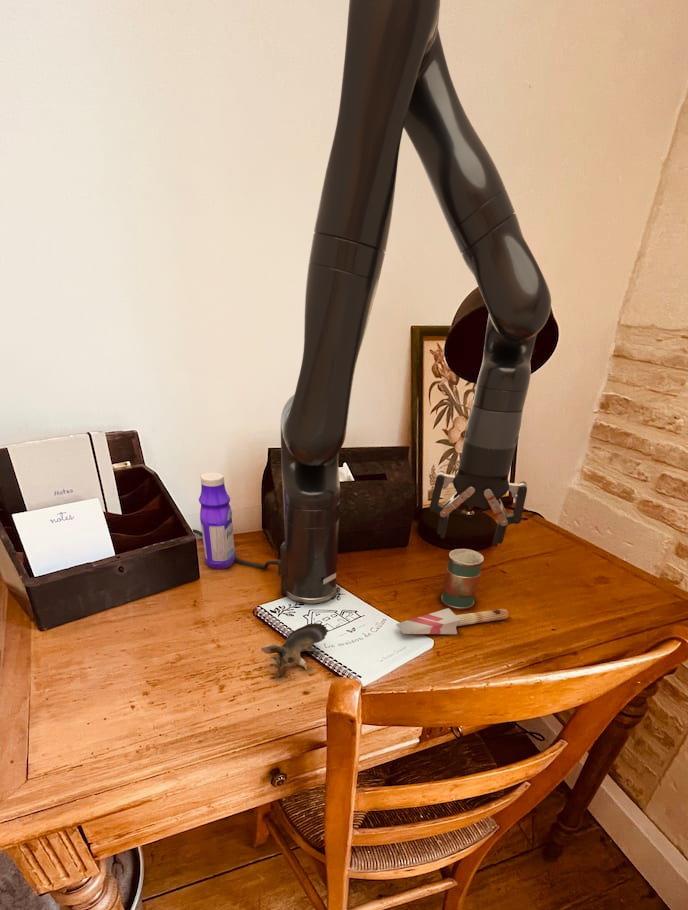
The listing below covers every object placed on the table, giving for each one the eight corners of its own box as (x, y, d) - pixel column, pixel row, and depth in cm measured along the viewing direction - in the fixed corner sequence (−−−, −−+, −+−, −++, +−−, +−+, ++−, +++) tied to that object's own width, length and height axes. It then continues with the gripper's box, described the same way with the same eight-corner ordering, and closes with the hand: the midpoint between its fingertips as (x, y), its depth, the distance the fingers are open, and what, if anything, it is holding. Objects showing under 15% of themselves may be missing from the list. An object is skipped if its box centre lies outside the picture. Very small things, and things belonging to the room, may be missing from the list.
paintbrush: (395, 614, 84) (501, 601, 90) (393, 628, 86) (496, 615, 92) (405, 627, 81) (514, 613, 87) (403, 641, 83) (509, 626, 89)
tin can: (439, 607, 92) (447, 561, 87) (442, 591, 97) (450, 546, 92) (472, 612, 91) (483, 566, 86) (474, 596, 96) (484, 551, 90)
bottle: (232, 572, 100) (224, 482, 90) (202, 571, 100) (191, 481, 90) (238, 554, 106) (231, 469, 96) (210, 553, 106) (200, 468, 96)
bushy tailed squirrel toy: (312, 684, 73) (339, 641, 78) (283, 646, 70) (313, 604, 75) (276, 689, 78) (303, 648, 83) (247, 654, 75) (277, 614, 80)
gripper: (539, 439, 79) (512, 538, 88) (444, 428, 82) (428, 525, 91) (541, 452, 73) (512, 557, 82) (439, 440, 76) (422, 543, 85)
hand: (468, 540), depth 87 cm, fingers open, 8 cm apart
